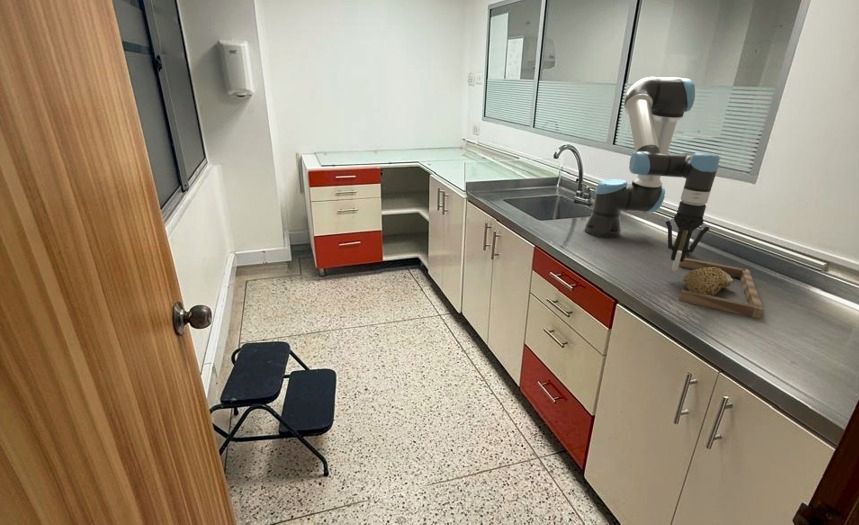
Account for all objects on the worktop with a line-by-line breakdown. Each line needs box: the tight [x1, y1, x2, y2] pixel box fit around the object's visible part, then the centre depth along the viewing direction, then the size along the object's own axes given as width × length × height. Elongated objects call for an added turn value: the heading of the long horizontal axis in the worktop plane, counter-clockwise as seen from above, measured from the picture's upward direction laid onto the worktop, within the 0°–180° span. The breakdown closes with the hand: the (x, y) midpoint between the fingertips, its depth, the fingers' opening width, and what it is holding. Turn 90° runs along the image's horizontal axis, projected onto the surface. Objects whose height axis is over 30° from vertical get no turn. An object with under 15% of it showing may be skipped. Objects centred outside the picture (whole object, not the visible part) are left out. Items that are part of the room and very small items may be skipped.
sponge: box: [683, 267, 734, 297], centre depth 142 cm, size 13×8×20 cm
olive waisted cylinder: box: [672, 227, 694, 251], centre depth 176 cm, size 6×6×11 cm
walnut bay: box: [678, 257, 764, 319], centre depth 145 cm, size 34×21×3 cm, turn 152°
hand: (674, 269), depth 150 cm, fingers closed
